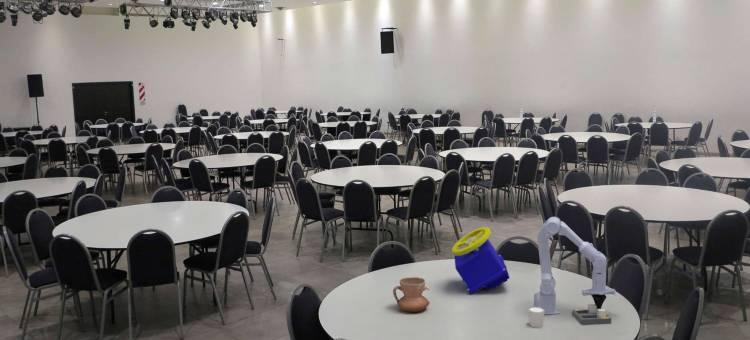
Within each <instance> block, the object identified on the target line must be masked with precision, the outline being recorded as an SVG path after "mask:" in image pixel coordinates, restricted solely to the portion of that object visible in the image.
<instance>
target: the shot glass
mask: <svg viewBox="0 0 750 340" xmlns="http://www.w3.org/2000/svg"><path fill="white" fill-rule="evenodd" d="M544 317H545V314H544V309H543V308H539V307H534V306H532V307H529V308H528V318H529V319H528V320H529V326H531V327H532V328H542V327H543V326H544Z"/></svg>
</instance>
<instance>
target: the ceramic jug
mask: <svg viewBox="0 0 750 340" xmlns="http://www.w3.org/2000/svg"><path fill="white" fill-rule="evenodd" d="M397 290H399V291H401V292H402V294H403V295H402V297H400V299H399V298H398V295H397ZM426 290H428V291H430V290H431V286H428V285H427V286H426V279H425V278H423V277H419V276H414V277H412V276H411V277H404V278H400V279H399V285H396V286H394V287H393V289H392V294H393V297H394V299H395V300H396V304H397V306H398V308H400V309H401V310H403V311H405V312H408V313H418V312H421V311H424V310H426V309H427V308H428V307H429V305H430V302H431V301H430V300H428V298H427V297H425V296H424V295H423V292H424V291H426Z"/></svg>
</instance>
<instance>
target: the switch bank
mask: <svg viewBox="0 0 750 340" xmlns="http://www.w3.org/2000/svg"><path fill="white" fill-rule="evenodd" d="M571 315H572V316H573V318H575V320H577V321H578V322H579V324H580V325H583V326H584V325H585V326H586V325H607V324H609V325H610V324H612V317H611V316H609V315H608V314H607V313H606V317H602V318H597V313H588V308H587V309H572V314H571Z"/></svg>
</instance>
